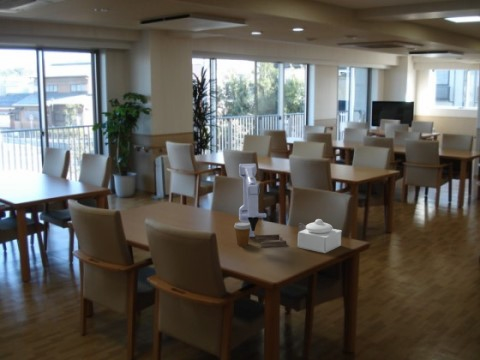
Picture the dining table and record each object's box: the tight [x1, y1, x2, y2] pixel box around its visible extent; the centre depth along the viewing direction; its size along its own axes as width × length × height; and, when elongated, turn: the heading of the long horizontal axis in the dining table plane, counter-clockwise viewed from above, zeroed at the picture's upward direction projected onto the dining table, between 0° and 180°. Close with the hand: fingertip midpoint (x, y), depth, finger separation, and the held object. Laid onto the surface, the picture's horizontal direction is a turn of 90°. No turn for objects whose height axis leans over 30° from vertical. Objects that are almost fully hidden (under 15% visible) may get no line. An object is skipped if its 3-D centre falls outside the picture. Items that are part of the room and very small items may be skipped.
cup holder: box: [255, 233, 287, 248], centre depth 314 cm, size 15×14×2 cm
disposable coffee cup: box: [233, 221, 251, 247], centre depth 310 cm, size 10×10×12 cm
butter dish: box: [297, 218, 343, 254], centre depth 304 cm, size 18×18×16 cm
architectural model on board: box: [298, 222, 307, 232], centre depth 324 cm, size 11×3×10 cm, turn 40°
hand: (253, 230), depth 300 cm, fingers closed
